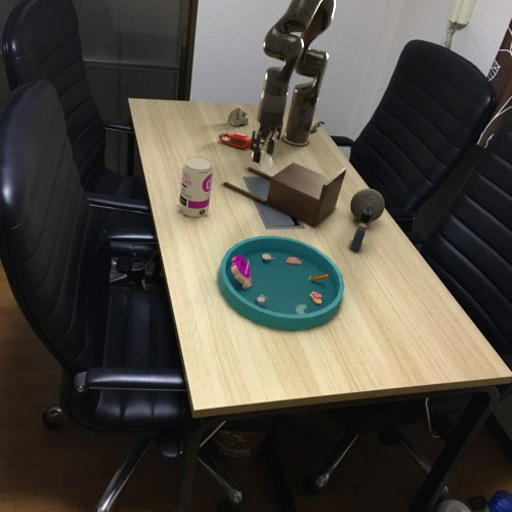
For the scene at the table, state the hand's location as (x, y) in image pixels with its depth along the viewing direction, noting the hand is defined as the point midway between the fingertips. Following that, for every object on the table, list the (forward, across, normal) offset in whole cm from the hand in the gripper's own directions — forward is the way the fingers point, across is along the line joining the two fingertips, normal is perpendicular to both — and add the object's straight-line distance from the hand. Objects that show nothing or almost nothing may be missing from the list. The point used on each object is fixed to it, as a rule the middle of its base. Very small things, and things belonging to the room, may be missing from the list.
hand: (262, 157), depth 154 cm
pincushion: (+2, 0, 0) cm, 2 cm away
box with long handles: (+10, 0, -8) cm, 13 cm away
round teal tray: (+10, -36, -29) cm, 48 cm away
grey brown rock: (+11, +34, +30) cm, 46 cm away
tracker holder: (+10, +20, +22) cm, 31 cm away
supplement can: (+10, -25, +6) cm, 28 cm away
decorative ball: (+10, +8, -33) cm, 36 cm away
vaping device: (+10, -7, -37) cm, 39 cm away
